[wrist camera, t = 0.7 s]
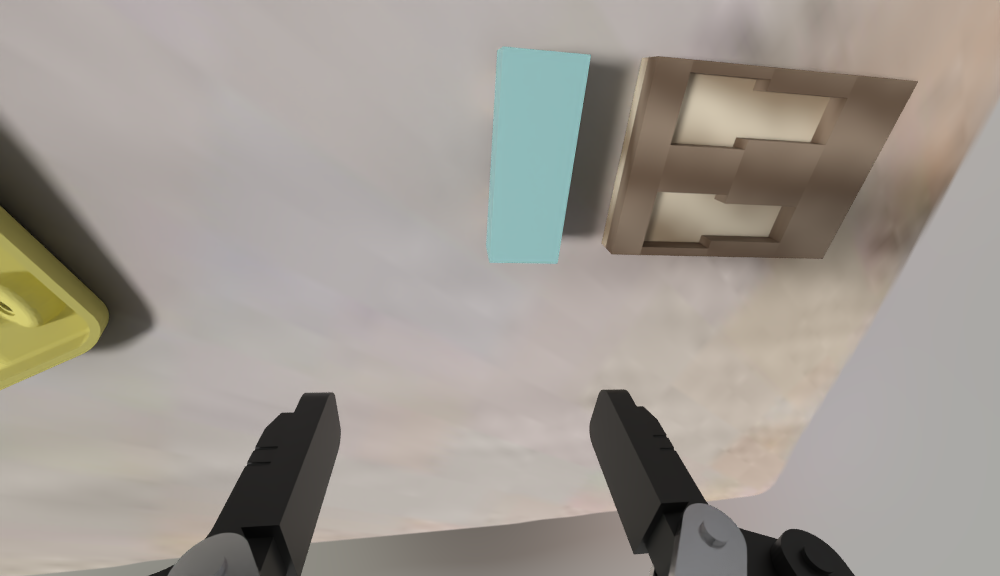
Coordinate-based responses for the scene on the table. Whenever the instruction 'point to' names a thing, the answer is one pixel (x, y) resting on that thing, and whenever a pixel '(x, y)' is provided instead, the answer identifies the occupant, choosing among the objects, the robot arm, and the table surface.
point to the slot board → (745, 158)
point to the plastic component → (41, 307)
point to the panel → (533, 151)
